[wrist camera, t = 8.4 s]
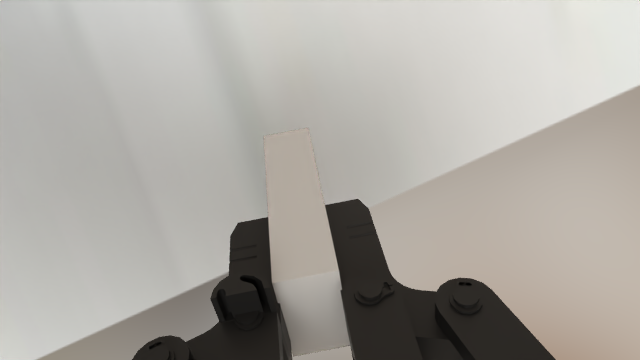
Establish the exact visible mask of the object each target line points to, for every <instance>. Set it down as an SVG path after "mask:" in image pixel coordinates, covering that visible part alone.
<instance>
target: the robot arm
mask: <svg viewBox="0 0 640 360" xmlns="http://www.w3.org/2000/svg"><path fill="white" fill-rule="evenodd" d="M264 152H265V169H266V187H267V204H268V217H267V218H261V219H256V220H251V221H245V222H240V223H238V224H237V226H236V227H235V229H234V231H233V233H232V234H231V236H230V263H229V276H228V277H226V278H225V279H223V280H222V281H220V282H219V284H218V285H217V286H216V287H215V288H214V290H213V292H212V296H211V301H212V304H213V306H214V309H215V311H216V314H217V316H218V319H219V322H218V323H217V324H216V325H215V326H214V327H213V328H212V329H210V330H209V331H207V332H205V333H204V334H201V335H199V336H197V337H195V338H193V339H191V340H189V341H187V342H185V341H184V340H182V339H181V338H180V337H175V336H165V337H159V338H157V339H154V340H152V341H150V342H148V343H147V344H146V345H144V346H143V347H142V348H141V349H140V350H138V352H137V353H136V355H135V356H134V358H133V359H132V360H292V354H293V356H299V355H304V354H309V353H314V352H319V351H325V350H330V349H335V348H340V347H345V346H351V351H352V357H353V360H555V358H554V357H553V356H552V355H551V354H550V353H549V352H548V351H547V350H546V349H545V348H544V346H543V345H542V344H541V343H540V342H539V341H538V340H537V339H536V338H535V337H534V336H533V334H532V333H531V332H530V331H529V330H528V329H527V328H526V327H525V326H524V325H523V324H522V322H521V321H520V320H519V319H518V318H517V317H516V316H515V315H514V314H513V313H512V311H510V309H509V308H508V307H507V306H506V305H505V304H504V303H503V302H502V301H501V299H500V298H499V297H498V296H497V295H496V294H495V293H494V292H493V291H492V290H491V289H490V288H489V287H487V286H486V285H485V284H484V283H482V282H479V281H477V280H474V279H470V278H457V279H452V280H449V281H447V282H446V283H444V284H442V285H441V286H440V287H439V289H438V290H437V292H434V291H421V290H415V289H411V288H408V287H405V286H403V285H402V284H400V283H399V282H397V281H396V280H395V279H394V278H393V277H392V275H391V273H390V271H389V269H388V266H387V263H386V260H385V257H384V254H383V251H382V248H381V244H380V242H379V239H378V236H377V234H376V229H375V227H374V224H373V220H372V217H371V215H370V211H369V209H368V208H367V207H366V206H365V205H364V204H363V203H362V202H361V201H360V200H358V199H356V200H350V201H345V202H340V203H334V204H329V205H325V203H324V199H323V194H322V190H321V185H320V180H319V176H318V171H317V166H316V162H315V157H314V152H313V148H312V143H311V138H310V134H309V129H308V128H304V129H298V130H293V131H288V132H282V133H277V134H272V135H266V136H264ZM291 350H292V351H291Z"/></svg>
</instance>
